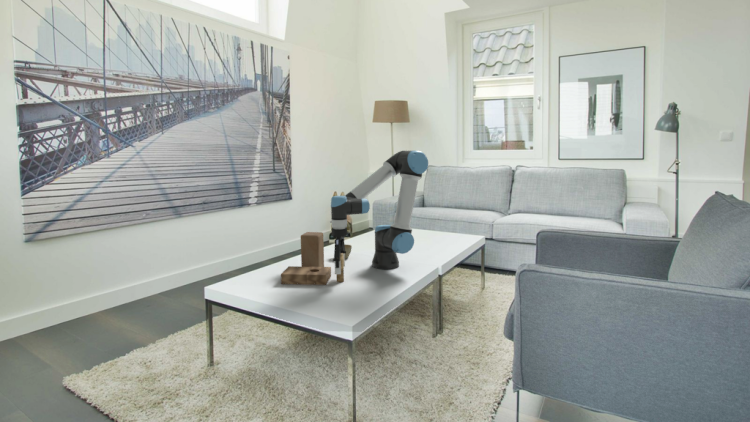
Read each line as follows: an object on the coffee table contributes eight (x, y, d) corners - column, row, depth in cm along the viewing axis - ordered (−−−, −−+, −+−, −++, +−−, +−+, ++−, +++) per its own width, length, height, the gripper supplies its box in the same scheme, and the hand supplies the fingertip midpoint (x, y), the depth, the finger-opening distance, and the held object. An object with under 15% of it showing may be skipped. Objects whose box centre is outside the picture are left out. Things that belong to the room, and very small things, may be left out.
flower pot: (335, 256, 264) (335, 244, 263) (351, 255, 265) (351, 244, 264) (335, 260, 254) (335, 248, 253) (352, 259, 255) (352, 247, 254)
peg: (344, 280, 215) (343, 252, 213) (343, 282, 212) (342, 254, 210) (337, 280, 216) (336, 252, 214) (335, 282, 212) (335, 254, 210)
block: (318, 272, 229) (317, 235, 226) (301, 271, 231) (299, 235, 228) (324, 267, 239) (323, 232, 236) (307, 266, 241) (306, 231, 238)
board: (331, 276, 222) (330, 266, 221) (326, 284, 208) (325, 274, 208) (289, 275, 224) (288, 266, 223) (281, 284, 210) (280, 274, 209)
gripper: (335, 223, 222) (336, 263, 225) (326, 232, 198) (327, 277, 201) (350, 223, 222) (350, 263, 225) (343, 232, 197) (343, 277, 200)
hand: (340, 270), depth 213 cm, fingers open, 13 cm apart
